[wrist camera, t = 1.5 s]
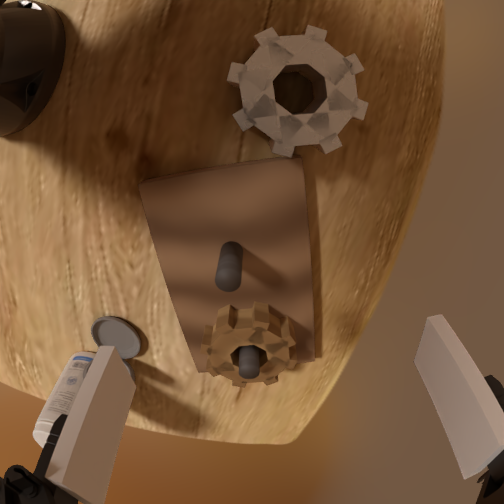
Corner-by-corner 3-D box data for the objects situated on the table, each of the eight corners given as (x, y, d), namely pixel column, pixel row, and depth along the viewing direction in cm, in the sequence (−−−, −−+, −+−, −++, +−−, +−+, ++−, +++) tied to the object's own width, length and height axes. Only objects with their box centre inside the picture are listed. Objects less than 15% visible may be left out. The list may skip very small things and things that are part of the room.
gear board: (143, 180, 26) (114, 202, 20) (299, 154, 25) (313, 169, 19) (199, 363, 36) (193, 404, 31) (313, 352, 35) (321, 393, 30)
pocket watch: (123, 308, 33) (91, 371, 24) (159, 358, 36) (140, 422, 27) (76, 322, 34) (42, 377, 25) (112, 367, 37) (89, 423, 28)
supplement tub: (109, 398, 41) (83, 474, 28) (62, 363, 38) (24, 437, 25) (141, 379, 38) (114, 468, 25) (87, 337, 35) (41, 425, 22)
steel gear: (225, 47, 21) (218, 33, 17) (338, 38, 20) (356, 24, 16) (242, 154, 25) (240, 164, 21) (351, 142, 25) (372, 150, 20)
